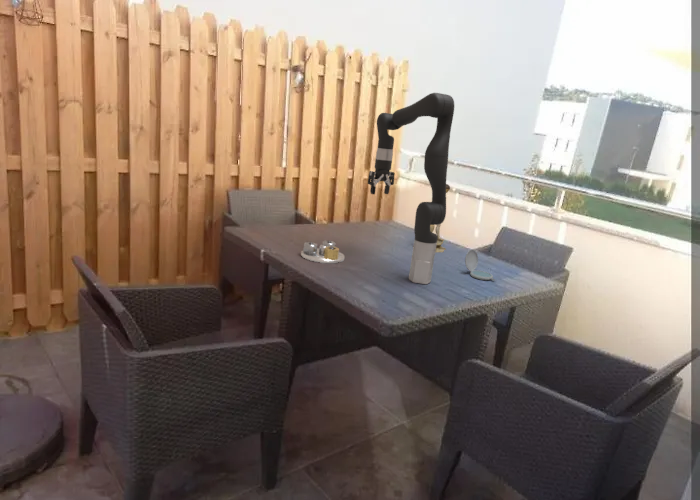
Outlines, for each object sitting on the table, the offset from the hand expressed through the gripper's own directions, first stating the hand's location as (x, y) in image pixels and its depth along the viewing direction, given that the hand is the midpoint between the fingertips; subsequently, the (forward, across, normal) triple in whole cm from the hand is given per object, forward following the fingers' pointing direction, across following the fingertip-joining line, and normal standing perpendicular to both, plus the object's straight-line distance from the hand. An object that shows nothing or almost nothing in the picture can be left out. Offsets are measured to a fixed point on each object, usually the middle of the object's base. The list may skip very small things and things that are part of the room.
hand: (379, 194), depth 219 cm
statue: (+30, -44, -2) cm, 54 cm away
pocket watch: (+30, -28, +43) cm, 60 cm away
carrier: (+30, +24, -6) cm, 39 cm away
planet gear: (+29, +24, 0) cm, 38 cm away
